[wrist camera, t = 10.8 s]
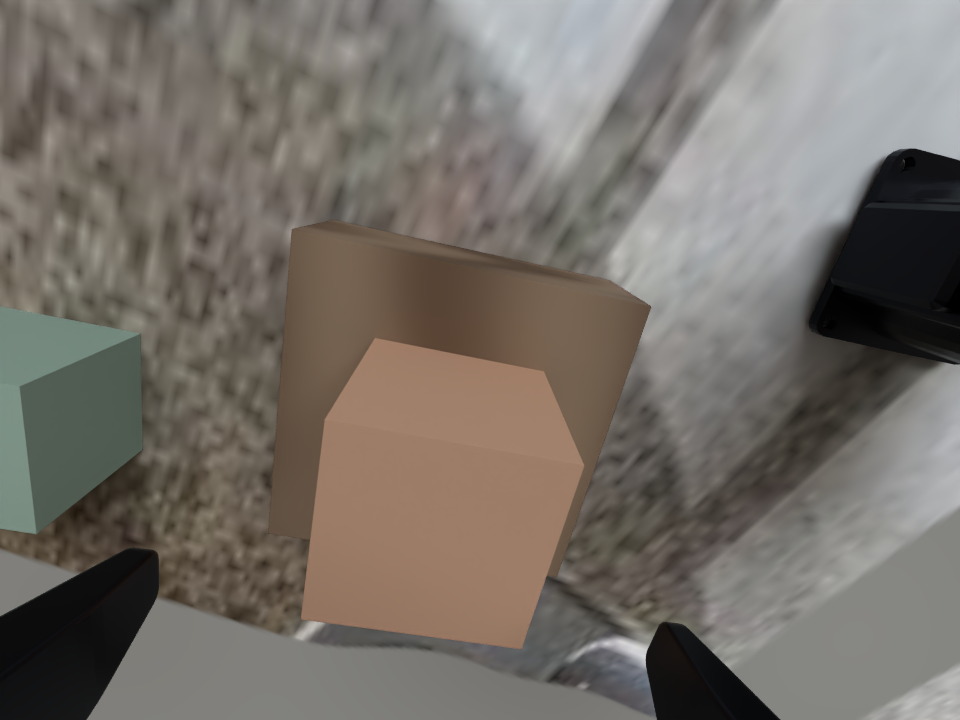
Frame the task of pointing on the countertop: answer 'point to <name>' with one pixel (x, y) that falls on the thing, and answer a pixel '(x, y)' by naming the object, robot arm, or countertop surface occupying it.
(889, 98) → the countertop surface
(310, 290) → the walnut block
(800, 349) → the countertop surface
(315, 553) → the terracotta cube
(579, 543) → the countertop surface
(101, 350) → the sage green cube
